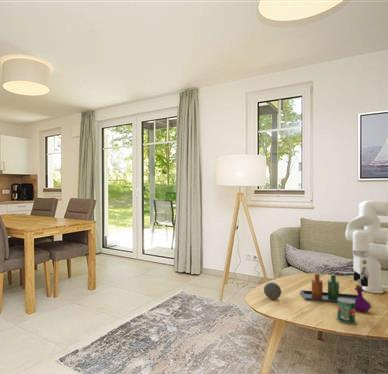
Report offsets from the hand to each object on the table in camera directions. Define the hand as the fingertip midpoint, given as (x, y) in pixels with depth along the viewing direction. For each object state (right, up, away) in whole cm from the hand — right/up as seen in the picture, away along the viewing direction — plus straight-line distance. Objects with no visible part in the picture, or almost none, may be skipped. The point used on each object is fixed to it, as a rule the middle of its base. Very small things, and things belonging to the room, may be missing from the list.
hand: (360, 283), depth 170 cm
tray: (-4, -16, +17) cm, 24 cm away
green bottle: (-4, -15, +17) cm, 23 cm away
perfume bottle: (0, -16, +1) cm, 16 cm away
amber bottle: (-13, -15, +20) cm, 28 cm away
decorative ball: (-41, -16, +20) cm, 48 cm away
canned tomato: (-15, -17, -10) cm, 25 cm away
